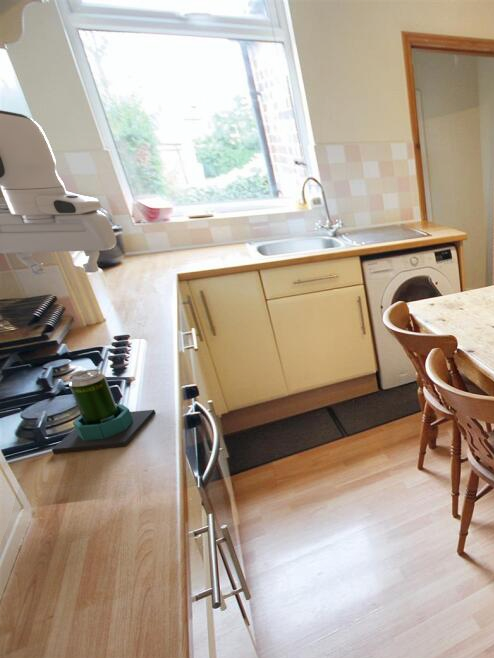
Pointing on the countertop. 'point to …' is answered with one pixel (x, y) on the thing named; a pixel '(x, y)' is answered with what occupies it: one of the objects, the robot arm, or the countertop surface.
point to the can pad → (107, 442)
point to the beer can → (93, 396)
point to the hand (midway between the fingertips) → (65, 272)
